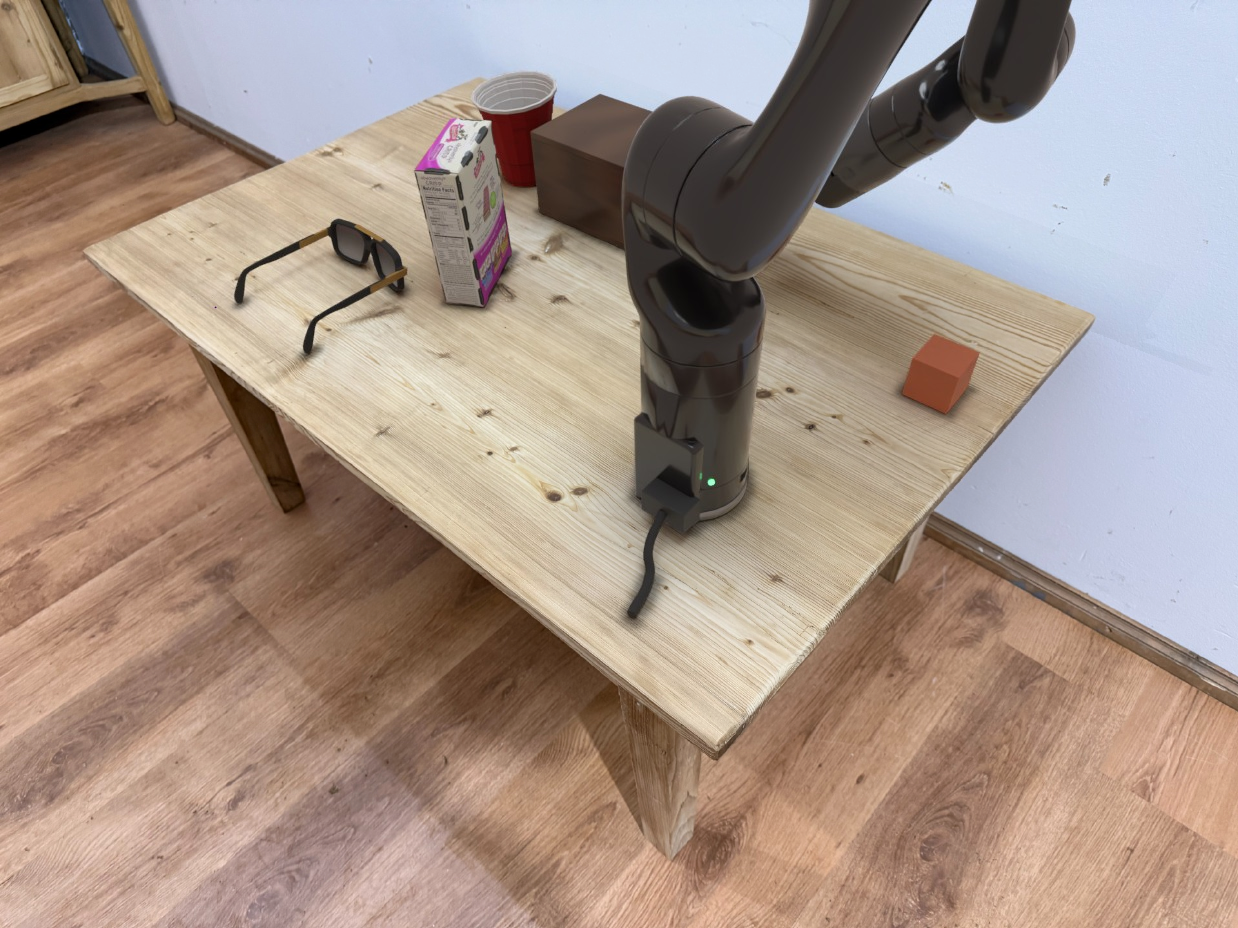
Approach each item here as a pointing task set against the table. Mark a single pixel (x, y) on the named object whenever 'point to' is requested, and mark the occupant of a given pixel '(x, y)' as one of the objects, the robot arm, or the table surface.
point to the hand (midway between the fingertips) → (741, 220)
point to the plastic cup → (516, 118)
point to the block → (940, 373)
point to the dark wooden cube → (586, 165)
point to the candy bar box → (465, 210)
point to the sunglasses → (352, 247)
